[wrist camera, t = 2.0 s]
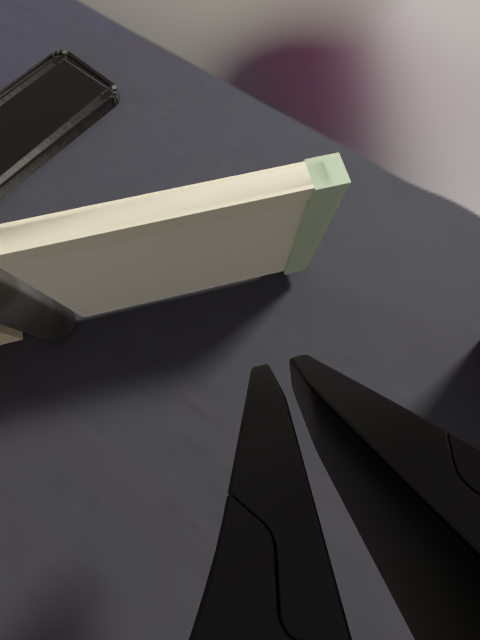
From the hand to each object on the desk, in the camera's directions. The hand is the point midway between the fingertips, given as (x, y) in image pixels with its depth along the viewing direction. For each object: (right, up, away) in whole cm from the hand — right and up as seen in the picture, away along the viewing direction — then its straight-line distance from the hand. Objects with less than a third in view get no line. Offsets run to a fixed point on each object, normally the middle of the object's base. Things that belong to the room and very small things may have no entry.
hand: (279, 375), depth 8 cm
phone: (-19, +18, +19) cm, 32 cm away
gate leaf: (-4, +4, +14) cm, 15 cm away
